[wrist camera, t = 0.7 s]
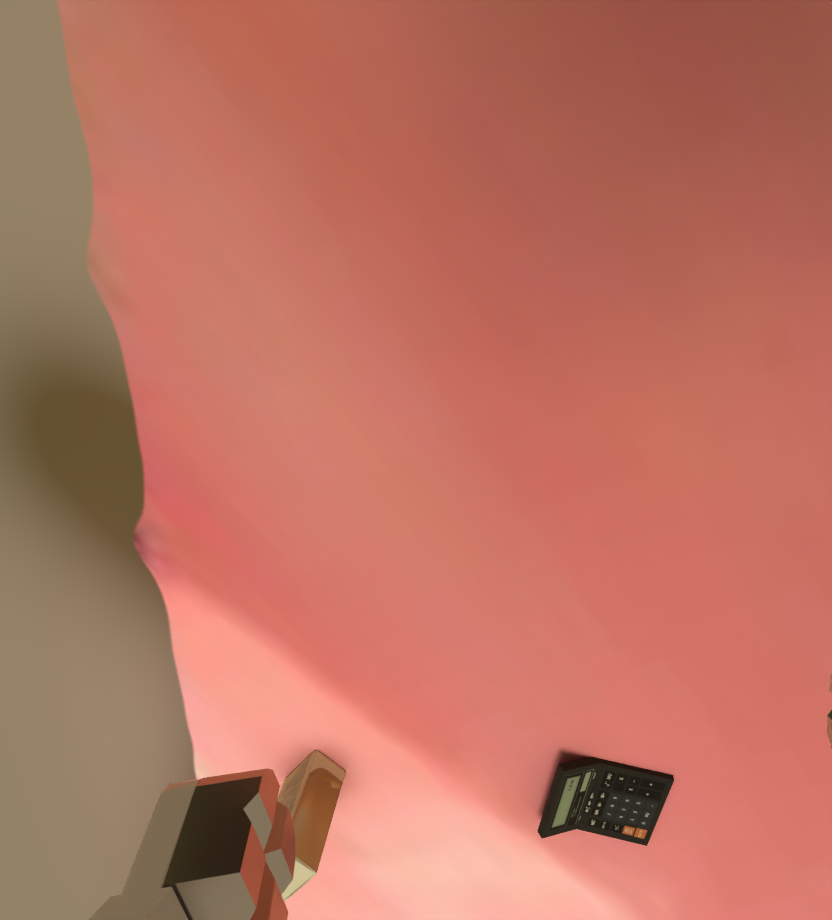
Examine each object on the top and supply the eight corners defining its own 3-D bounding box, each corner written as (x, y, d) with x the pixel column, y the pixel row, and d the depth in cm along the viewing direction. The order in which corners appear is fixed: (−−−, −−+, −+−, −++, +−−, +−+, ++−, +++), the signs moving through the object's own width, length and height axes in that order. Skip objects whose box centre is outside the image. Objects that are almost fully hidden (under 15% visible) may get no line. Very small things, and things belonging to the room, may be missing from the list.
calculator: (645, 838, 68) (651, 864, 65) (536, 812, 69) (537, 837, 66) (672, 773, 64) (679, 798, 62) (557, 746, 65) (559, 770, 63)
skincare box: (314, 799, 72) (278, 907, 60) (284, 777, 71) (242, 882, 60) (348, 769, 70) (318, 876, 58) (317, 746, 69) (280, 849, 58)
